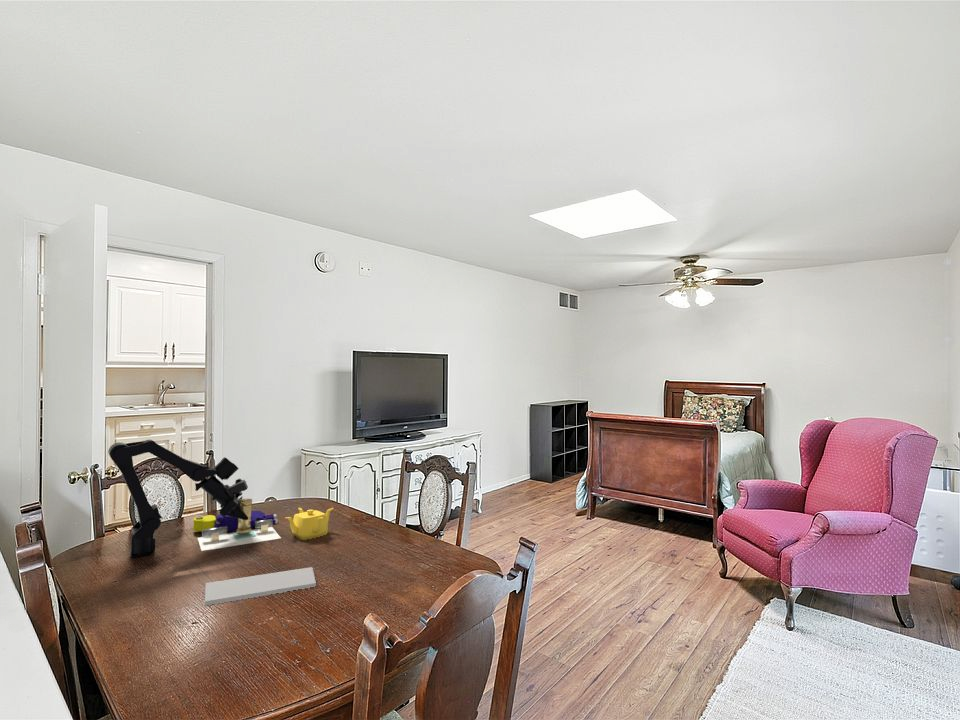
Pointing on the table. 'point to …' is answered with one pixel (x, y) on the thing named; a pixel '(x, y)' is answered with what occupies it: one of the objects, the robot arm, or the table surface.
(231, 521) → the toy
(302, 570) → the grey flat slab
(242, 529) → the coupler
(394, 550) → the table surface
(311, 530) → the teapot
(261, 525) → the shafts
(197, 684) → the table surface
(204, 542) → the board
